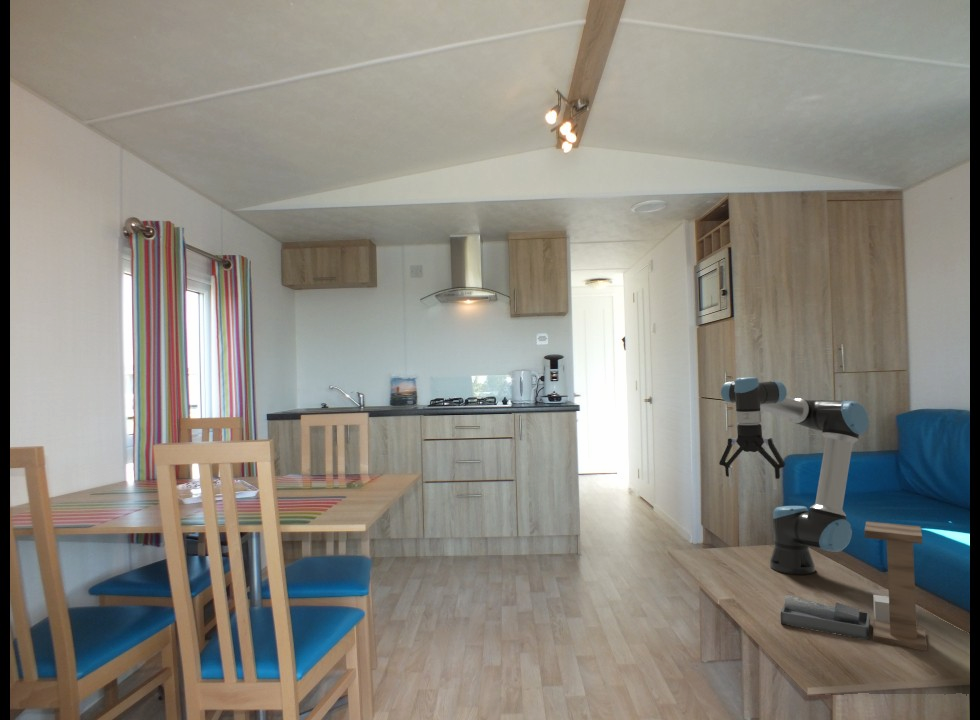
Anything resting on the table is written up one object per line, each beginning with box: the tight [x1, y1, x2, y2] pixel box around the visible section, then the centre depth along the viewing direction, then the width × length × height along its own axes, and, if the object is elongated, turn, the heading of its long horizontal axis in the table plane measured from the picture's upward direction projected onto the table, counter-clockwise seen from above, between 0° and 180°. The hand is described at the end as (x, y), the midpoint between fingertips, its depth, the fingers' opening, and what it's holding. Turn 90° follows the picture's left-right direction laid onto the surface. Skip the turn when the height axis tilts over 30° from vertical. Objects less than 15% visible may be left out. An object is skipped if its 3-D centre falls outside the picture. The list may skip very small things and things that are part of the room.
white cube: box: [872, 594, 890, 623], centre depth 182 cm, size 6×6×6 cm
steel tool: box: [783, 594, 860, 625], centre depth 180 cm, size 7×19×4 cm, turn 58°
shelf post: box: [864, 521, 928, 652], centre depth 170 cm, size 12×13×30 cm
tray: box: [780, 605, 871, 641], centre depth 179 cm, size 12×22×4 cm, turn 57°
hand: (753, 487), depth 204 cm, fingers open, 13 cm apart
